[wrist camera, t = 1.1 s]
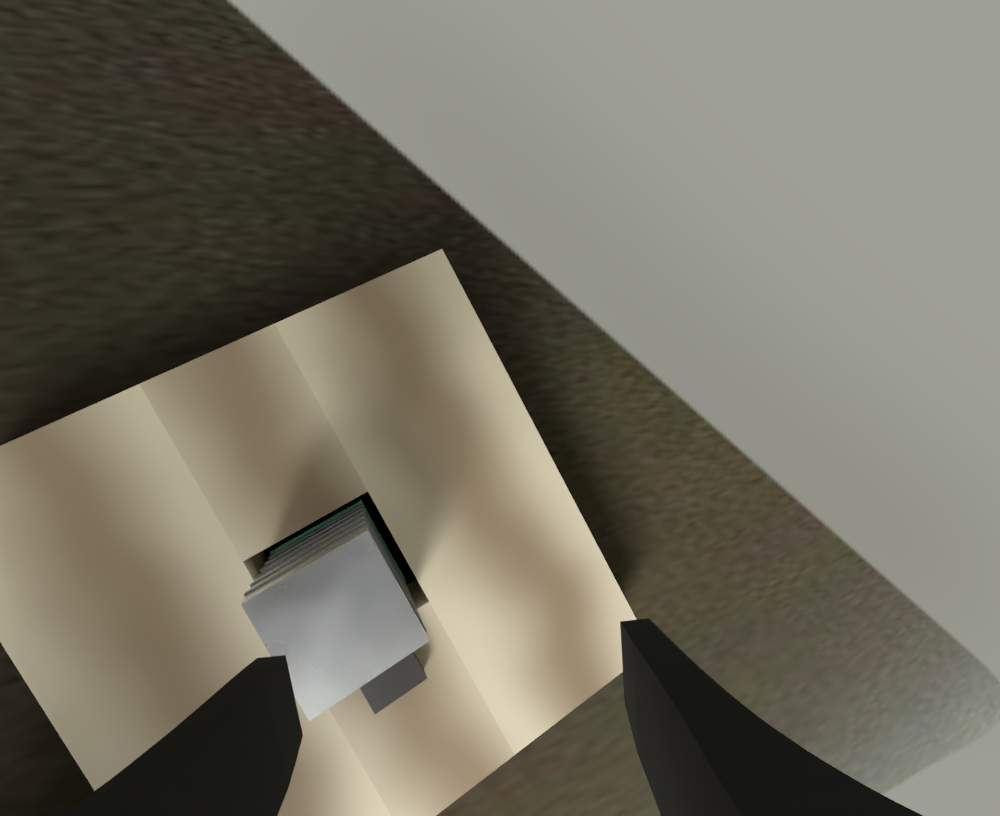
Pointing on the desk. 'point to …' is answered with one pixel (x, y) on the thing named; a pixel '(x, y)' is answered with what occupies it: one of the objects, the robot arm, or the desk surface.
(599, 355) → the desk surface
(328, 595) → the grey striped block
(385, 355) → the stand block
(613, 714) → the desk surface
